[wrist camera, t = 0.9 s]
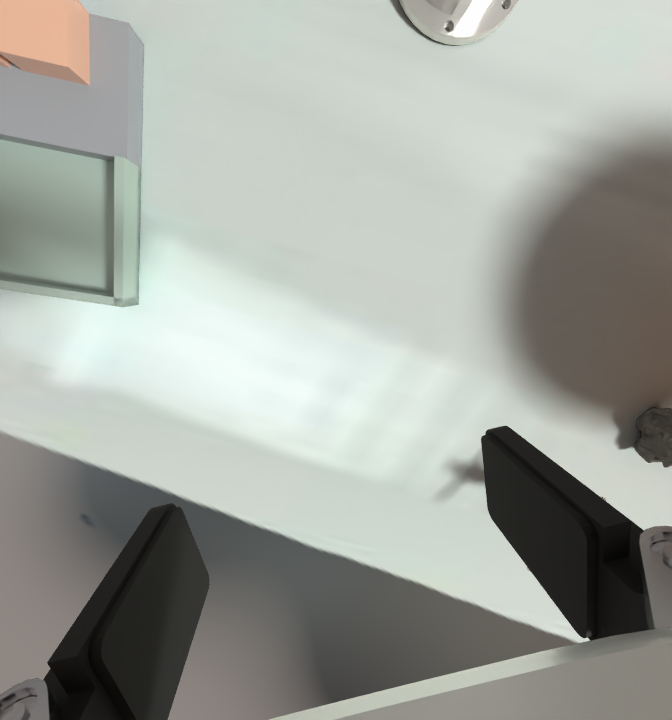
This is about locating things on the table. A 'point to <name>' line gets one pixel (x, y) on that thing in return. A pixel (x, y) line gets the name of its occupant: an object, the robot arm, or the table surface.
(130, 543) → the robot arm
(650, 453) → the bone
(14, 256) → the tray
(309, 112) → the table surface
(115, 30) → the deck
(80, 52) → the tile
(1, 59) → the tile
